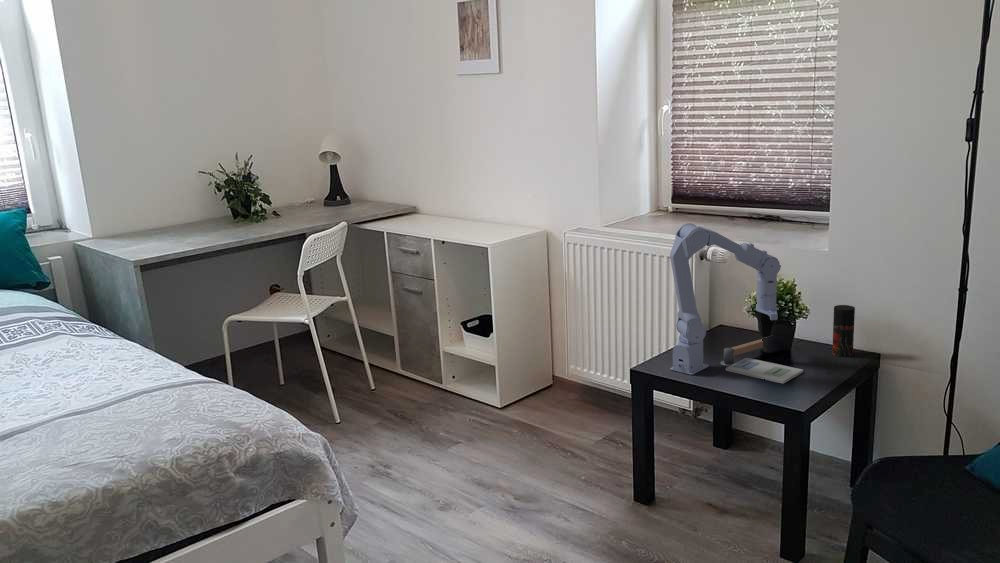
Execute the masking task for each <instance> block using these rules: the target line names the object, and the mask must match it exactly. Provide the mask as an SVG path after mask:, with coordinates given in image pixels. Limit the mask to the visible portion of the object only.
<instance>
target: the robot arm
mask: <svg viewBox="0 0 1000 563" xmlns="http://www.w3.org/2000/svg"><path fill="white" fill-rule="evenodd" d="M674 237H675V239H674V242H673V244H672V247H671V250H670V253H669V256H670V257H669V258H670V263H671V269H672V275H673V276H672V277H673V280H674V281H673V282H674V288H675V292H676V293H675V294H676V298H677V304H678V305H677V306H678V312H677V314H676V315H677V320H676V324H675V326H676V327H675V328H676V330H677V332H678V333H679V336H678V342H677V344H676V345H675V346H674V347H673V349H672V366H671V367H670V368H669V369H670V370H671V371H674V372H679V373H682V374H687V375H690V376H691V375H695V374H697V373H699V372H701V371H703V370H705V369H707V368H709V367H710V365H709V364H706V363H704V339H705V337H706V334H707V331H706V327H705V325H704V324H703V322H702V319H701V316H700V313H699V311H698V309H697V303H696V297H695V291H694V286H693V277H692V272H691V267H690V259H691V258H692V257H693V255H695V254H696V253H698V252H699V251H701V250H702V249H703V248H705V247H712V246H716V247H719V248H722V249H723V250H726V251H727V252H730V253H731V254H732V253H733V254H734V258H735V260H736V261H738V262H741V263H742V264H744V265H746V266H748V267H750V268H752V269H754V270H756V272H757V274H756V302H757V304H756V308H755V311H756V313H754V315H755V317H756V320H757V323H758V325H759V329H760V330H759V331H760V335H761V337H762V338H767V337H770V336H771V333H772V330H773V326H774V324H775V322H776V321H777V320H778V318H779V316H778V311H779V308H776V306H777V294H778V293H777V288H778V285H777V282H778V279H777V278H778V273H779V272H780V270H781V268H782V265H781V264H780V261H779V259H778V258H777V257H775V256H773V255H772V254H771V255H770V254H769V253H768V252H767V250H764V249H762V250H761V249H759V248H757V247H755V244H754V243H752V242H748V243H746V242H743V243H740V244H739V243H737V242H735V241H733V240H732V239H729V238H728V237H725V235H724V236H723V235H722V234H720V233H718V232H716V231H713V230H712V229H709V228H706V227H703V226H699V225H698V226H697V225H696V224H694V223H691V222H690V223H689V222H687V223H685V224H683V225H681V226H680V228H678V230H677V231H676V232H675V235H674Z"/></svg>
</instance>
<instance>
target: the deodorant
mask: <svg viewBox="0 0 1000 563" xmlns="http://www.w3.org/2000/svg"><path fill="white" fill-rule="evenodd" d="M855 311H856V308H855V306H853V305H848V304H837V305H834V307H833V322H832V323H833V324H832V325H833V326H832V327H833V328H832V329H833V330H832V352H831V354H832V355H833V356H836V357H839V358H847V357H848V358H849V357H852V356H854V336H855V317H856V316H855V313H856V312H855Z"/></svg>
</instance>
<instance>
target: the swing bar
mask: <svg viewBox="0 0 1000 563" xmlns="http://www.w3.org/2000/svg"><path fill="white" fill-rule="evenodd" d="M762 339H763V338H761V339H757V340H754V341H750V342H746V343H743V344H739V345H736V346H732V347H725V348H723V361H724V363H727V364H731V363H734V361H735V356H738V355H741V354H745V353H749V352H752V351H755V350H759V349H763V348H764V347H763V341H762Z"/></svg>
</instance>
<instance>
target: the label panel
mask: <svg viewBox="0 0 1000 563" xmlns="http://www.w3.org/2000/svg"><path fill="white" fill-rule="evenodd" d="M720 365H722V366H723V367H726V368H725V371H727V372H731V373H735V374H739V375H744V376H747V377H752V378H756V379H761V380H764V379H765V381H769V382H773V383H779V384H786V383H787V382H789V381H790V380H792V379H793V378H796V377H798V376H799V375H801V374H802V373H804V369H801V368H797V367H792V366H789V365H783V364H779V363H774V362H770V361H764V360H760V359H755V358H750V357H744V358H743V359H740V360H738V361H735V360H734V363H731V364H727V363H724V360H721V361H720Z"/></svg>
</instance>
